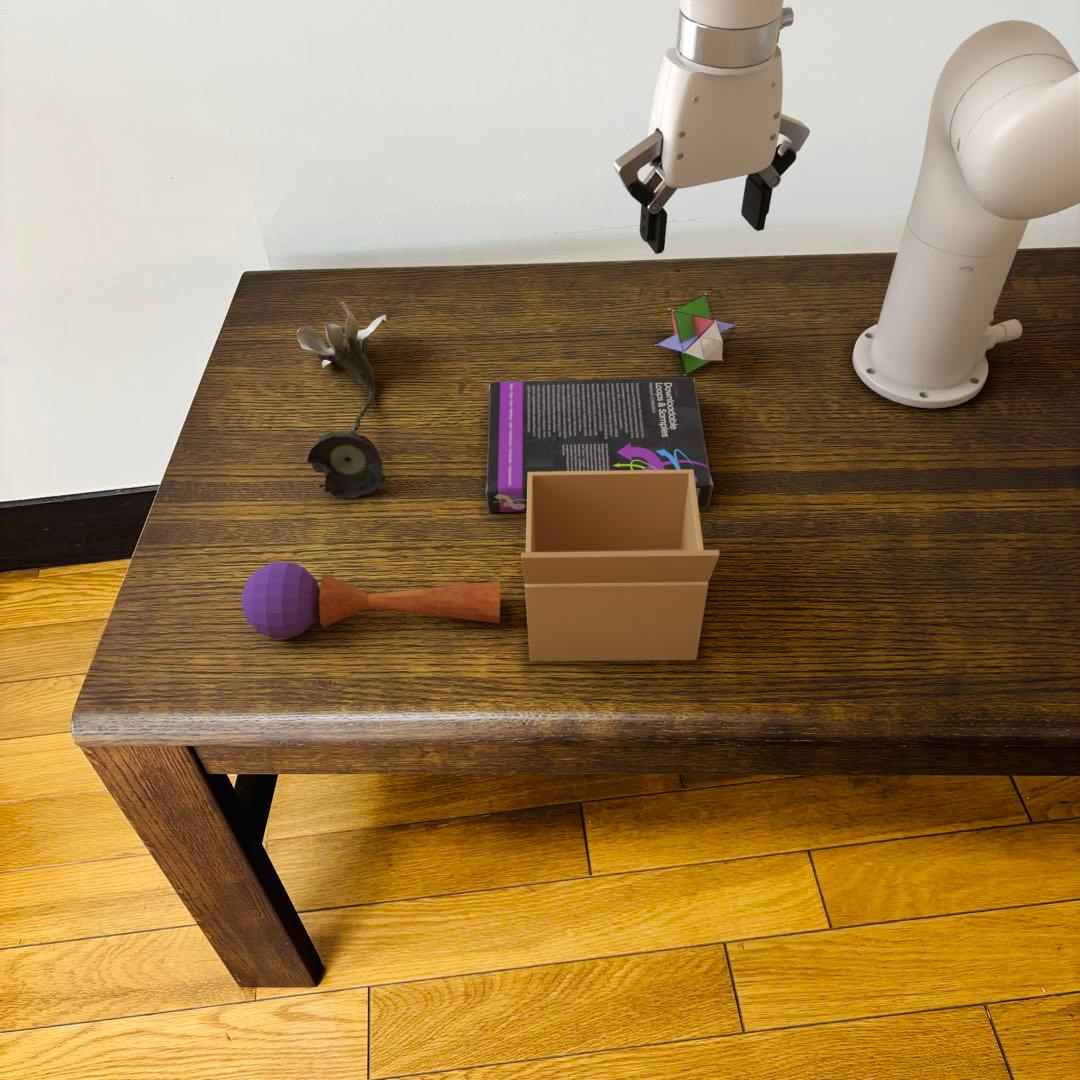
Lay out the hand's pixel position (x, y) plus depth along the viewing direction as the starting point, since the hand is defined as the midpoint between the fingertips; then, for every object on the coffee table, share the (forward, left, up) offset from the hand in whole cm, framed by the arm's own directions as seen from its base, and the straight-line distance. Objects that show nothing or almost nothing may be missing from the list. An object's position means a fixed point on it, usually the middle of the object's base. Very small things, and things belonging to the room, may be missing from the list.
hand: (703, 233), depth 88 cm
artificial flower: (+33, -5, -15) cm, 37 cm away
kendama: (+37, +20, -15) cm, 44 cm away
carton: (+19, +25, -15) cm, 34 cm away
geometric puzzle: (0, 0, -15) cm, 15 cm away
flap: (+21, +31, -2) cm, 37 cm away
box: (+14, +9, -15) cm, 22 cm away
